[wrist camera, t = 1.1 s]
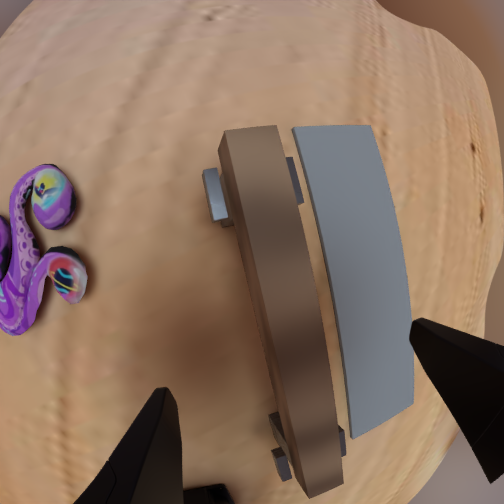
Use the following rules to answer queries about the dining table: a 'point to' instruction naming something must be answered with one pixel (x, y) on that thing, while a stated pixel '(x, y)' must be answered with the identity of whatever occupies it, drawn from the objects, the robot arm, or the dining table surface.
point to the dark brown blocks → (282, 452)
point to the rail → (284, 301)
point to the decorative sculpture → (37, 249)
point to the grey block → (219, 196)
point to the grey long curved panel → (361, 268)
